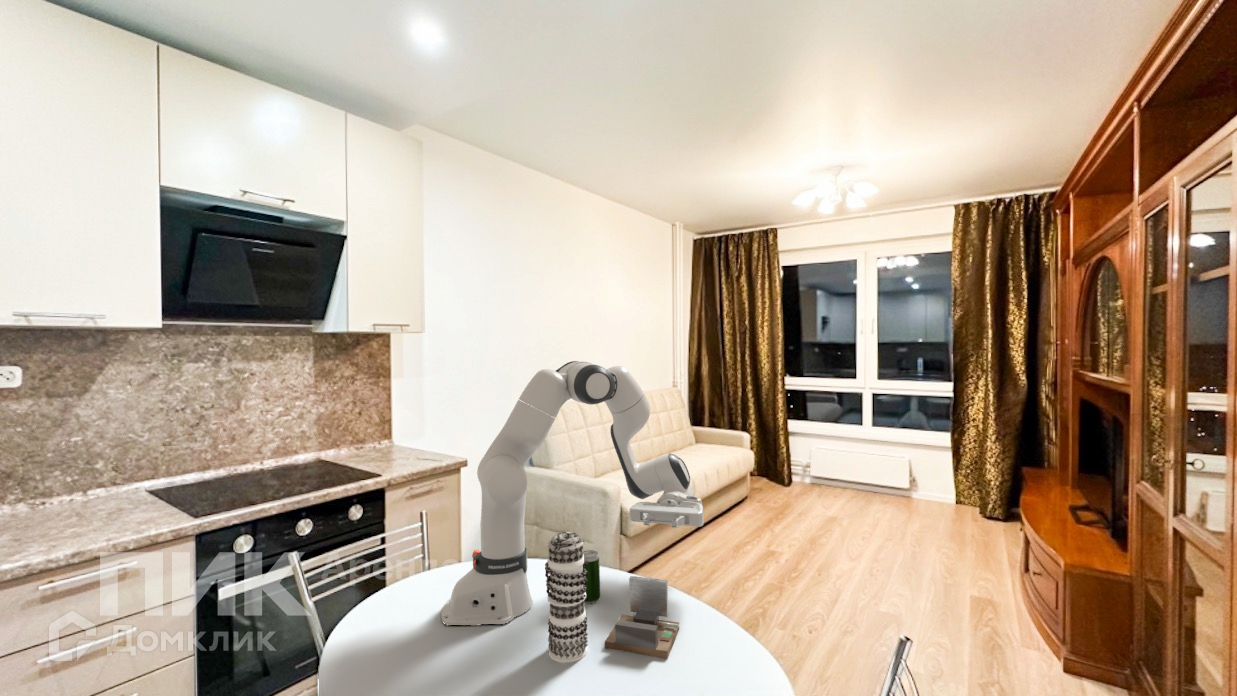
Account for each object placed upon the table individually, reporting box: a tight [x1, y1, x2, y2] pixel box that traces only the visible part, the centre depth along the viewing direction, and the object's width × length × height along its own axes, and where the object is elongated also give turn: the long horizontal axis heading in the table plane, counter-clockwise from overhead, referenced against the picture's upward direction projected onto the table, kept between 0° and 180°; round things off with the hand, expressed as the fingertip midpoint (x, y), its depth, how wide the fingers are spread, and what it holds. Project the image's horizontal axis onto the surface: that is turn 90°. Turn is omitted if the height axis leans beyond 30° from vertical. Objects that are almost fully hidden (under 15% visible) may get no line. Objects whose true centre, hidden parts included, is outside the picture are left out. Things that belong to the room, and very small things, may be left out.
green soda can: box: [583, 549, 601, 605], centre depth 135 cm, size 5×5×12 cm
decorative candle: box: [544, 531, 589, 664], centre depth 112 cm, size 9×9×25 cm
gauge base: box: [604, 614, 680, 660], centre depth 116 cm, size 12×14×6 cm
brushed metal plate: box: [628, 575, 680, 628], centre depth 119 cm, size 5×12×9 cm, turn 71°
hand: (660, 523), depth 133 cm, fingers open, 6 cm apart
